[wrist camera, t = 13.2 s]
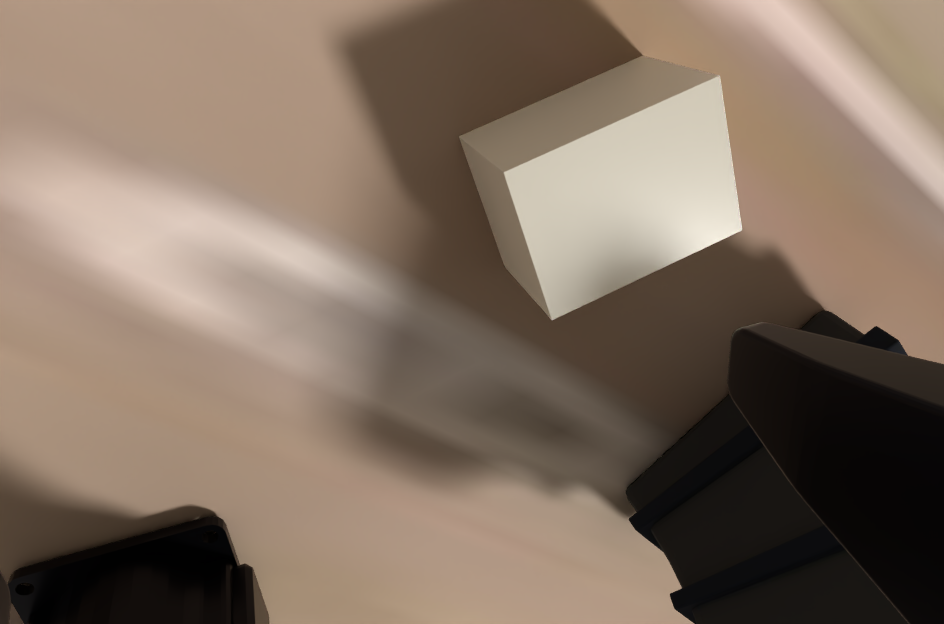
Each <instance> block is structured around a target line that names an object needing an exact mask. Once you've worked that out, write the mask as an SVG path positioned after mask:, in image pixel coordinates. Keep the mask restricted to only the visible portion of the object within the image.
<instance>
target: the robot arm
mask: <svg viewBox="0 0 944 624" xmlns="http://www.w3.org/2000/svg"><path fill="white" fill-rule="evenodd" d="M727 384H728V390H729V393H730V396H731V398H732V400H733V401H734V403H735V404H736V406H737V407H738V409H739V410H740V412H741V413H742V414H743V416H744V417H745V419H746V420H747V422H748V423H749V425H750V426H751V428H752V429H753V430H754V432H755V433H756V435H757V436H758V438H759V439H760V441H761V442H762V443H763V445H764V446H765V448H766V449H767V451H768V452H769V454H770V455H771V456H772V458H773V459H774V461H775V462H776V464H777V465H778V467H779V468H780V470H781V471H782V472H783V474H784V475H785V477H786V478H787V479H788V481H789V482H790V483H791V485H792V486H793V487H794V489H795V490H796V491H797V493H798V494H799V495H800V496H801V498H802V499H803V500H804V501H805V502H806V504H807V505H808V506H809V507H810V508H811V510H812V511H813V512H814V513H815V514H816V515H817V517H818V518H819V519H820V520H821V521H822V522H823V524H824V525H825V526H826V527H827V528H828V530H829V531H830V532H831V533H832V534H833V535H834V537H835V538H836V539H837V540H838V541H839V542H840V544H841V545H842V546H843V547H844V548H845V549H846V551H847V552H848V553H849V554H850V555H851V556H852V558H853V559H854V560H855V561H856V562H857V564H858V565H859V566H860V567H861V568H862V569H863V571H864V572H865V573H866V574H867V575H868V576H869V578H870V579H871V580H872V581H873V582H874V583H875V585H876V586H877V587H878V588H879V589H880V590H881V592H882V593H883V594H884V595H885V596H886V598H887V599H888V600H889V601H890V602H891V603H892V605H893V606H894V607H895V608H896V609H897V610H898V612H899V613H900V614H901V615H902V616H903V617H904V619H905V620H906V621H907V622H908V623H909V624H944V364H941V363H936V362H932V361H928V360H924V359H920V358H915V357H911V356H907V355H903V354H899V353H894V352H890V351H886V350H882V349H877V348H873V347H869V346H865V345H861V344H856V343H852V342H848V341H844V340H840V339H835V338H831V337H827V336H823V335H818V334H814V333H810V332H806V331H802V330H797V329H793V328H789V327H785V326H781V325H776V324H772V323H767V322H760V323H757V324H753V325H749V326H745V327H741V328H738V329H737V330H736V331H735V332H734V333H733V335H732V337H731V344H730V355H729V366H728V378H727ZM207 531H215V532H216V533H214V534H209V535H208V534H205V532H207ZM21 583H30V584H32V585H27V586H26V585H22V584H21ZM11 602H12V604H13V605H14V607H15V609H16V610H17V612H18V614H19V616H20V617H21V619H22V621H23V623H24V624H269V615H268V611H267V608H266V605H265V602H264V599H263V596H262V593H261V591H260V588H259V585H258V582H257V579H256V576H255V573H254V570H253V568H252V567H251V566H249V565H247V564H242V565H240V563H239V560H238V558H237V555H236V552H235V549H234V546H233V543H232V540H231V538H230V535H229V532H228V529H227V526H226V524H225V522H224V521H223V520H222V519H220V518H219V517H213V516H211V517H205V518H201V519H197V520H194V521H190V522H187V523H183V524H179V525H176V526H172V527H168V528H165V529H161V530H157V531H154V532H150V533H147V534H143V535H139V536H136V537H132V538H128V539H125V540H121V541H118V542H114V543H110V544H107V545H103V546H99V547H96V548H92V549H89V550H85V551H81V552H78V553H74V554H70V555H67V556H63V557H59V558H56V559H52V560H49V561H45V562H41V563H38V564H34V565H30V566H27V567H23V568H20V569H18V570H16V571H14V572H13V573H12V574H11V576H10V578H9V581H8V584H7V582H6V580H5V578H4V576H3V575H2V573H1V571H0V624H9V617H10V606H11Z"/></svg>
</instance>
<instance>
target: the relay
mask: <svg viewBox="0 0 944 624" xmlns="http://www.w3.org/2000/svg"><path fill="white" fill-rule="evenodd" d="M459 139H460V142H461V144H462V147H463V150H464V153H465V156H466V159H467V162H468V164H469V167H470V170H471V173H472V176H473V179H474V181H475V184H476V187H477V190H478V193H479V196H480V198H481V201H482V204H483V207H484V210H485V213H486V215H487V218H488V221H489V224H490V227H491V230H492V232H493V235H494V238H495V241H496V244H497V247H498V249H499V252H500V255H501V258H502V261H503V264H504V267H505V268H506V269H507V270H508V271H509V272H510V274H511V275H512V276H513V277H514V278H515V279H516V280H517V281H518V283H519V284H520V285H521V286H522V287H523V288H524V289H525V291H526V292H527V293H528V294H529V295H530V296H531V297H532V298H533V300H534V301H535V302H536V303H537V304H538V305H539V306H540V307H541V309H542V310H543V311H544V312H545V313H546V314H547V315H548V317H549V318H550V319H551V320H554V319H556V318H558V317H560V316H562V315H565V314H567V313H569V312H571V311H573V310H575V309H577V308H579V307H581V306H584V305H586V304H588V303H590V302H592V301H594V300H596V299H598V298H600V297H603V296H605V295H607V294H609V293H611V292H613V291H615V290H617V289H619V288H621V287H624V286H626V285H628V284H630V283H632V282H634V281H636V280H638V279H640V278H643V277H645V276H647V275H649V274H651V273H653V272H655V271H657V270H659V269H662V268H664V267H666V266H668V265H670V264H672V263H674V262H676V261H678V260H680V259H683V258H685V257H687V256H689V255H691V254H693V253H695V252H697V251H699V250H702V249H704V248H706V247H708V246H710V245H712V244H714V243H716V242H718V241H721V240H723V239H725V238H727V237H729V236H731V235H733V234H735V233H737V232H739V231H742V225H741V218H740V211H739V204H738V198H737V191H736V184H735V177H734V170H733V163H732V156H731V149H730V142H729V135H728V128H727V122H726V115H725V108H724V101H723V94H722V87H721V80H720V75H716V74H712V73H708V72H705V71H701V70H697V69H693V68H689V67H685V66H682V65H678V64H674V63H670V62H666V61H662V60H659V59H655V58H651V57H647V56H640V57H638V58H636V59H633V60H631V61H629V62H627V63H624V64H622V65H620V66H618V67H615V68H613V69H611V70H608V71H606V72H604V73H602V74H599V75H597V76H595V77H593V78H590V79H588V80H586V81H583V82H581V83H579V84H577V85H574V86H572V87H570V88H568V89H565V90H563V91H561V92H558V93H556V94H554V95H552V96H549V97H547V98H545V99H543V100H540V101H538V102H536V103H533V104H531V105H529V106H527V107H524V108H522V109H520V110H518V111H515V112H513V113H511V114H508V115H506V116H504V117H502V118H499V119H497V120H495V121H492V122H490V123H488V124H486V125H483V126H481V127H479V128H477V129H474V130H472V131H470V132H467V133H465V134H463V135H461V136H459Z"/></svg>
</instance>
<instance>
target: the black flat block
mask: <svg viewBox="0 0 944 624" xmlns="http://www.w3.org/2000/svg"><path fill="white" fill-rule="evenodd" d="M800 330H802V331H806V332H810V333H814V334H818V335H823V336H827V337H831V338H835V339H840V340H844V341H848V342H852V343H856V344H861V345H865V346H869V347H873V348H877V349H882V350H886V351H890V352H894V353H899V354H903V355H907V353H906V352H905V350H904V348H903V347H902V345H901V344H900V342H899V340H897V339H896V338H894V337H893V336H891V335H890V334H888V333H887V332H885V331H883V330H882V329H880V328H879V327H877V326H876V327H874V328H873V329H871V330H870V331H869V332H867V333H866V334H865V335H864V334H863V333H861V332H860V331H858V330H857V329H855V328H854V327H852V326H851V325H849V324H848V323H847V322H845V321H844V320H842V319H841V318H839V317H838V316H836V315H835V314H833V313H831V312H829V311H825V310H823V311H821V312H819V313H818V314H817V315H816V316H815V317H813V318H812V319H811V320H810V321H809V322H808V323H807V324H806V325H805V326H804V327H803V328H801V329H800ZM907 356H908V355H907ZM626 495H627V498H628V500H629V502H630V503H631V505H632V506H633V507H634V509H635V510H636V511H637V513H635V514H634V515H633V516H632V517H630V518H629V521H630V523H631V524H632V525H633V527H634V528H635V530H636V531H637V532H639V533H640V534H641V535H643V536H644V537H645V538H646V539H648V540H649V541H650V542H651V543H653V544H654V545H655V546H656V547H658V548H659V549H660V550H661V551H663V552H664V554H665V555H666V557H667V559H668V560H669V562H670V564H671V566H672V568H673V570H674V572H675V574H676V576H677V578H678V580H679V582H680V585H681V587H682V589H680V590H678V591H675V592H673V593H671V594H670V597H671V600H672V603H673V606H674V608H675V610H677V611H678V612H679V613H681V614H682V615H684V616H685V617H686V618H688V619H689V620H690V621H692V622H693V623H695V624H909V623H908V622H907V621H906V620H905V619H904V617H903V616H902V615H901V614H900V613H899V612H898V610H897V609H896V608H895V607H894V606H893V605H892V603H891V602H890V601H889V600H888V599H887V598H886V596H885V595H884V594H883V593H882V592H881V590H880V589H879V588H878V587H877V586H876V585H875V583H874V582H873V581H872V580H871V579H870V578H869V576H868V575H867V574H866V573H865V572H864V571H863V569H862V568H861V567H860V566H859V565H858V564H857V562H856V561H855V560H854V559H853V558H852V556H851V555H850V554H849V553H848V552H847V551H846V549H845V548H844V547H843V546H842V545H841V544H840V542H839V541H838V540H837V539H836V538H835V537H834V535H833V534H832V533H831V532H830V531H829V530H828V528H827V527H826V526H825V525H824V524H823V522H822V521H821V520H820V519H819V518H818V517H817V515H816V514H815V513H814V512H813V511H812V510H811V508H810V507H809V506H808V505H807V504H806V502H805V501H804V500H803V499H802V498H801V496H800V495H799V494H798V493H797V491H796V490H795V489H794V487H793V486H792V485H791V483H790V482H789V481H788V479H787V478H786V477H785V475H784V474H783V472H782V471H781V470H780V468H779V467H778V465H777V464H776V462H775V461H774V459H773V458H772V456H771V455H770V454H769V452H768V451H767V449H766V448H765V446H764V445H763V443H762V442H761V441H760V439H759V438H758V436H757V435H756V433H755V432H754V430H753V429H752V428H751V426H750V425H749V423H748V422H747V420H746V419H745V417H744V416H743V414H742V413H741V412H740V410H739V409H738V407H737V406H736V404H735V403H734V401H733V400H732V398H731V396H730V394H729V395H728V396H727V397H726V398H725V399H724V400H723V401H722V402H721V403H720V404H719V405H718V406H716V407H715V408H714V409H713V410H712V411H711V412H710V413H709V414H708V415H707V416H706V417H704V418H703V419H702V420H701V421H700V422H699V423H698V424H697V425H696V426H695V427H694V428H692V429H691V430H690V431H689V432H688V433H687V434H686V435H685V436H684V437H683V438H682V439H680V440H679V441H678V442H677V443H676V444H675V445H674V446H673V447H672V448H671V449H670V450H668V451H667V452H666V453H665V454H664V455H663V456H662V457H661V458H660V459H659V460H658V461H656V462H655V463H654V464H653V465H652V466H651V467H650V468H649V469H648V470H647V471H646V472H644V473H643V474H642V475H641V476H640V477H639V478H638V479H637V480H636V481H635V482H634V483H632V484H631V485H630V486H629V487H628V489H627V490H626Z"/></svg>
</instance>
